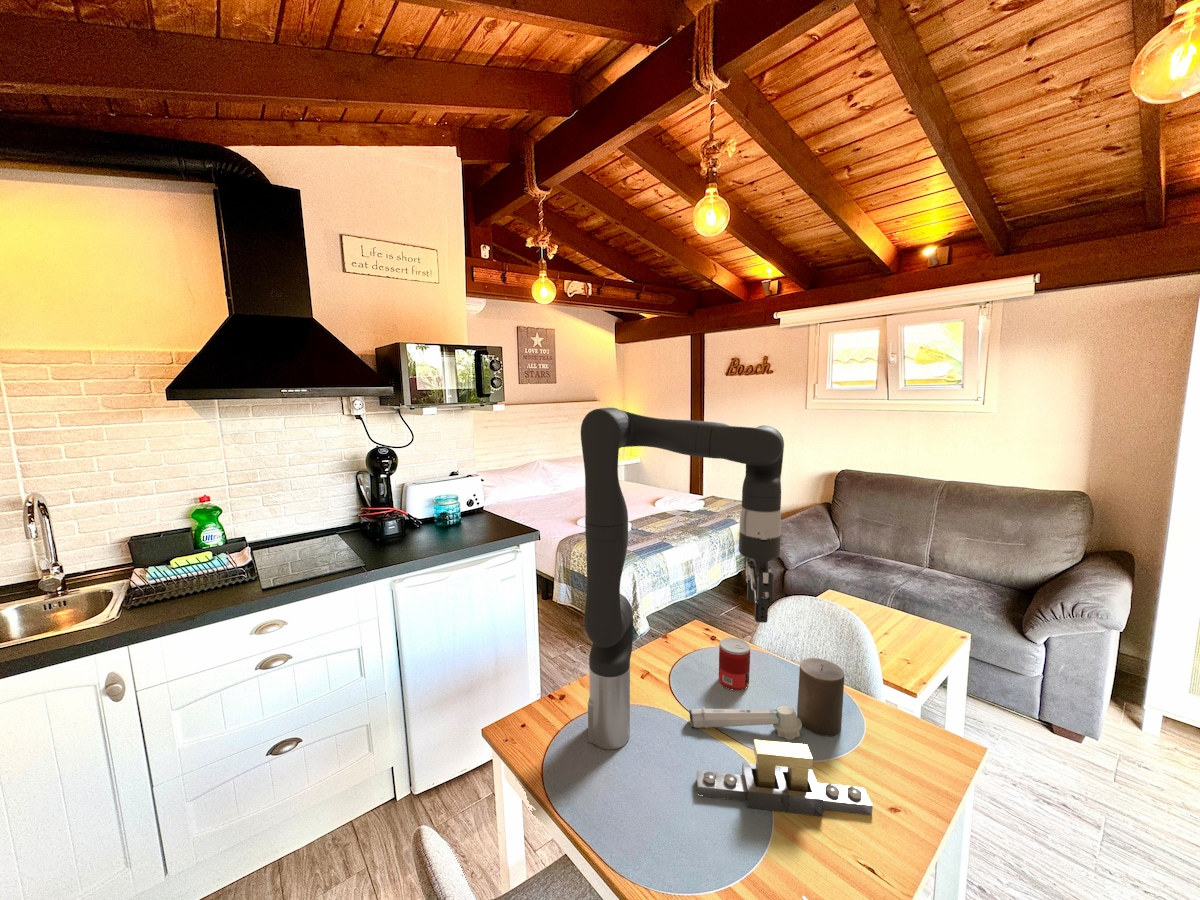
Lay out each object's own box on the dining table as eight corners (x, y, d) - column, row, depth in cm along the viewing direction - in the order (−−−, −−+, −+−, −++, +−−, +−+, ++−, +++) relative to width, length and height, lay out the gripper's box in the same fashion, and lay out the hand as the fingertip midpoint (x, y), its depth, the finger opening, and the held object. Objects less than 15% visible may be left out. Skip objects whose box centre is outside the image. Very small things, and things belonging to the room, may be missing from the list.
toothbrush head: (688, 703, 114) (795, 697, 111) (691, 728, 115) (798, 724, 111) (689, 717, 109) (802, 712, 106) (693, 744, 110) (805, 740, 106)
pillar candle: (836, 743, 106) (840, 680, 104) (791, 724, 112) (794, 665, 110) (844, 719, 114) (849, 661, 112) (802, 703, 120) (805, 647, 118)
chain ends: (698, 802, 91) (698, 786, 91) (696, 773, 98) (696, 758, 98) (875, 822, 87) (876, 805, 86) (860, 790, 94) (861, 774, 93)
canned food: (752, 691, 124) (754, 652, 123) (722, 691, 124) (723, 652, 123) (744, 674, 132) (745, 637, 131) (715, 674, 132) (716, 637, 131)
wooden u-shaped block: (755, 801, 91) (757, 753, 90) (752, 786, 95) (753, 739, 93) (809, 807, 90) (812, 758, 89) (804, 791, 93) (807, 744, 92)
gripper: (734, 519, 98) (732, 594, 100) (745, 541, 84) (742, 627, 86) (772, 521, 97) (768, 596, 99) (789, 543, 83) (785, 630, 85)
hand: (756, 611), depth 92 cm, fingers open, 8 cm apart
